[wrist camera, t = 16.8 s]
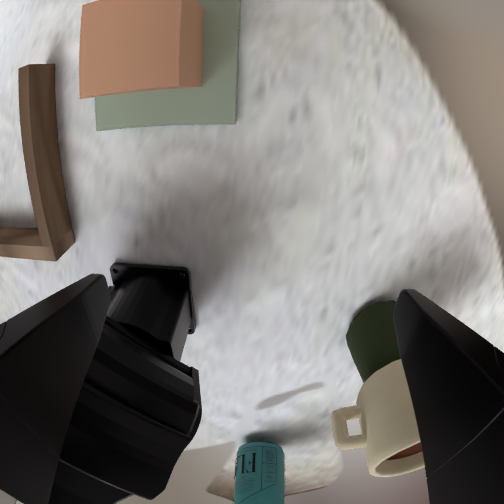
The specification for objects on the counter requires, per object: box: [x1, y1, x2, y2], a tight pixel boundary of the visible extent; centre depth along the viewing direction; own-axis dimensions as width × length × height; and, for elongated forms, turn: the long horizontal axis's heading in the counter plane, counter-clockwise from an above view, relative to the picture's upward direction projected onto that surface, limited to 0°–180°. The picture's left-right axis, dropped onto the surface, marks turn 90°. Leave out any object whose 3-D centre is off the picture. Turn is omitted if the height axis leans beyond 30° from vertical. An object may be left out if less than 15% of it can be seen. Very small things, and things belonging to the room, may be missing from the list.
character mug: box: [331, 301, 425, 477], centre depth 19 cm, size 11×7×13 cm, turn 97°
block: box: [79, 0, 204, 99], centre depth 12 cm, size 5×5×5 cm
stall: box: [0, 64, 75, 261], centre depth 17 cm, size 11×14×3 cm
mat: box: [95, 0, 240, 131], centre depth 15 cm, size 9×9×1 cm
